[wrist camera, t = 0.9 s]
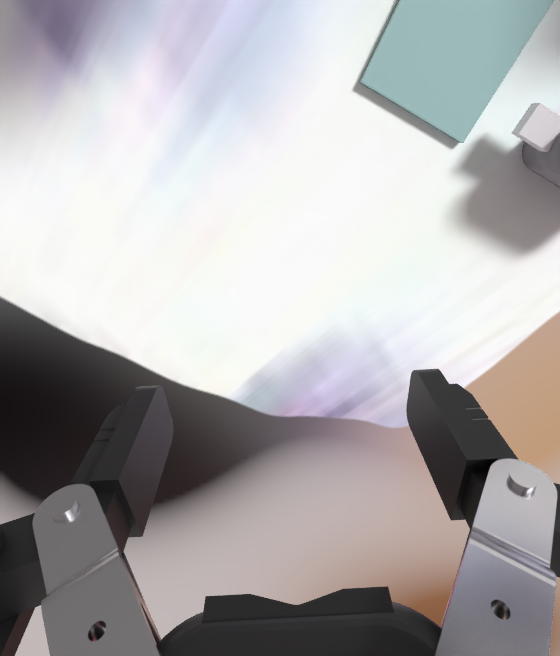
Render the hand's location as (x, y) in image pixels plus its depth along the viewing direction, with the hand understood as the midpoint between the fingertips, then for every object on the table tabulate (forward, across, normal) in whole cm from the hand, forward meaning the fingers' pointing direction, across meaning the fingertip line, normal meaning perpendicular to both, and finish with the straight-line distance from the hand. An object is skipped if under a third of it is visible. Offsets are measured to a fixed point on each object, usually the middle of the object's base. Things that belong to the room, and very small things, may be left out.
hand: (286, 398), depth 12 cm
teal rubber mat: (+26, -14, -13) cm, 32 cm away
